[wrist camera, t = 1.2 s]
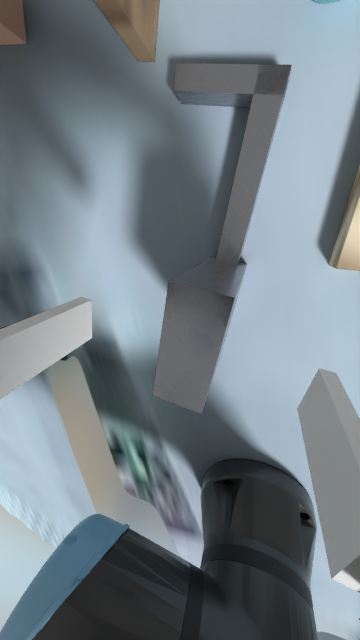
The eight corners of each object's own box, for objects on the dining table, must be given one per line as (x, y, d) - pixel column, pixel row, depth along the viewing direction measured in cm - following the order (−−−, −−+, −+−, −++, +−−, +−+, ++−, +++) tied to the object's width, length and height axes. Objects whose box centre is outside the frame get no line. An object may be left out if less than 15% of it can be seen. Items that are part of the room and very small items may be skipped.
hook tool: (226, 335, 25) (201, 414, 14) (154, 314, 27) (86, 370, 16) (298, 83, 16) (376, -203, 5) (184, 79, 18) (76, -137, 7)
